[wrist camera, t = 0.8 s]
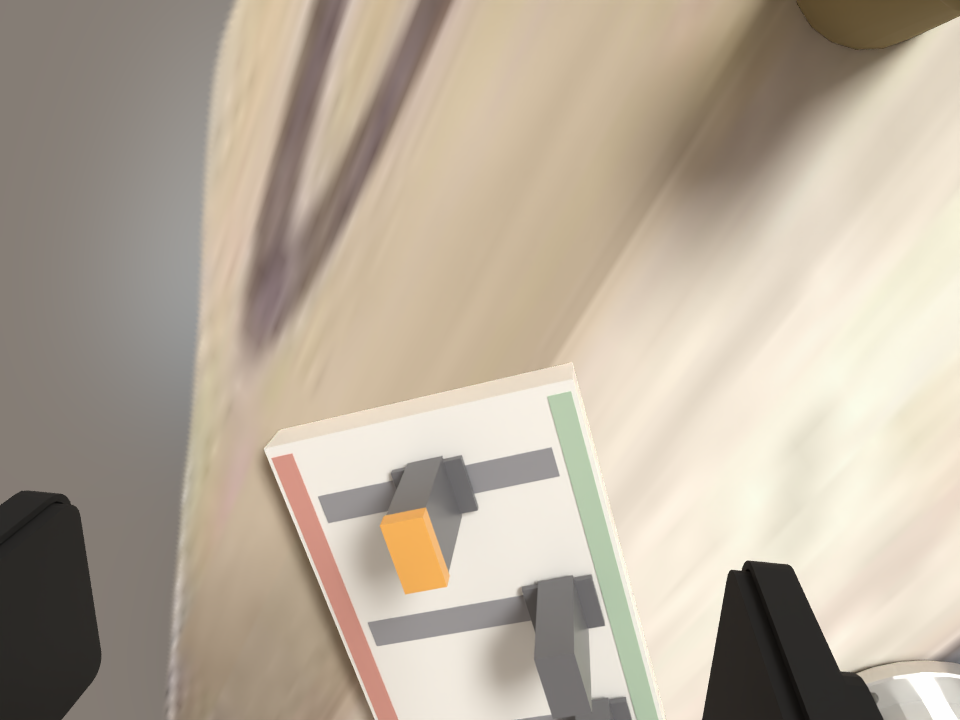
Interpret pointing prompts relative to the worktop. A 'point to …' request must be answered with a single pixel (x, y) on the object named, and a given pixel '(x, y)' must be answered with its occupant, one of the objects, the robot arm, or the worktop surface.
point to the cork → (876, 19)
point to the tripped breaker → (427, 520)
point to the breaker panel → (466, 548)
